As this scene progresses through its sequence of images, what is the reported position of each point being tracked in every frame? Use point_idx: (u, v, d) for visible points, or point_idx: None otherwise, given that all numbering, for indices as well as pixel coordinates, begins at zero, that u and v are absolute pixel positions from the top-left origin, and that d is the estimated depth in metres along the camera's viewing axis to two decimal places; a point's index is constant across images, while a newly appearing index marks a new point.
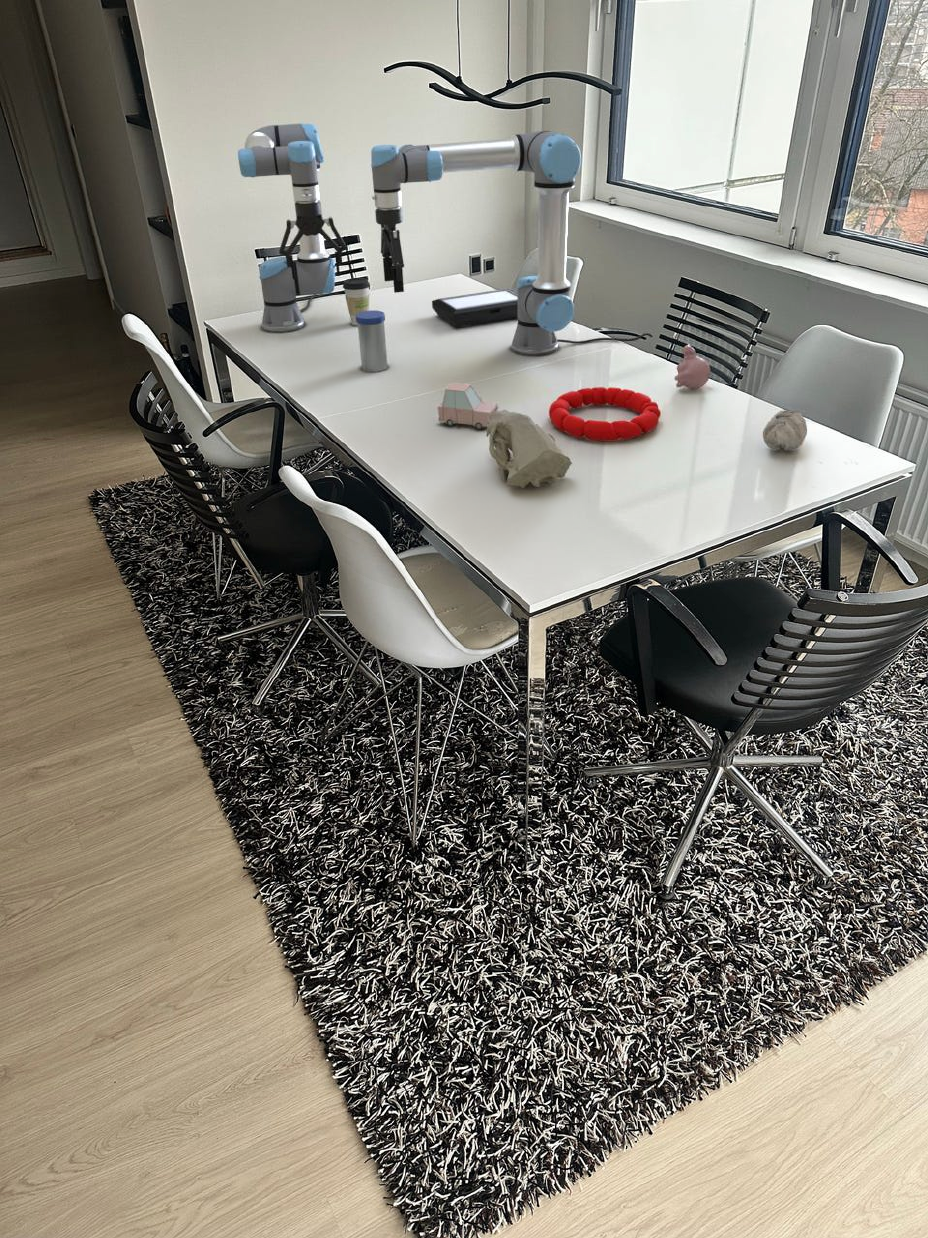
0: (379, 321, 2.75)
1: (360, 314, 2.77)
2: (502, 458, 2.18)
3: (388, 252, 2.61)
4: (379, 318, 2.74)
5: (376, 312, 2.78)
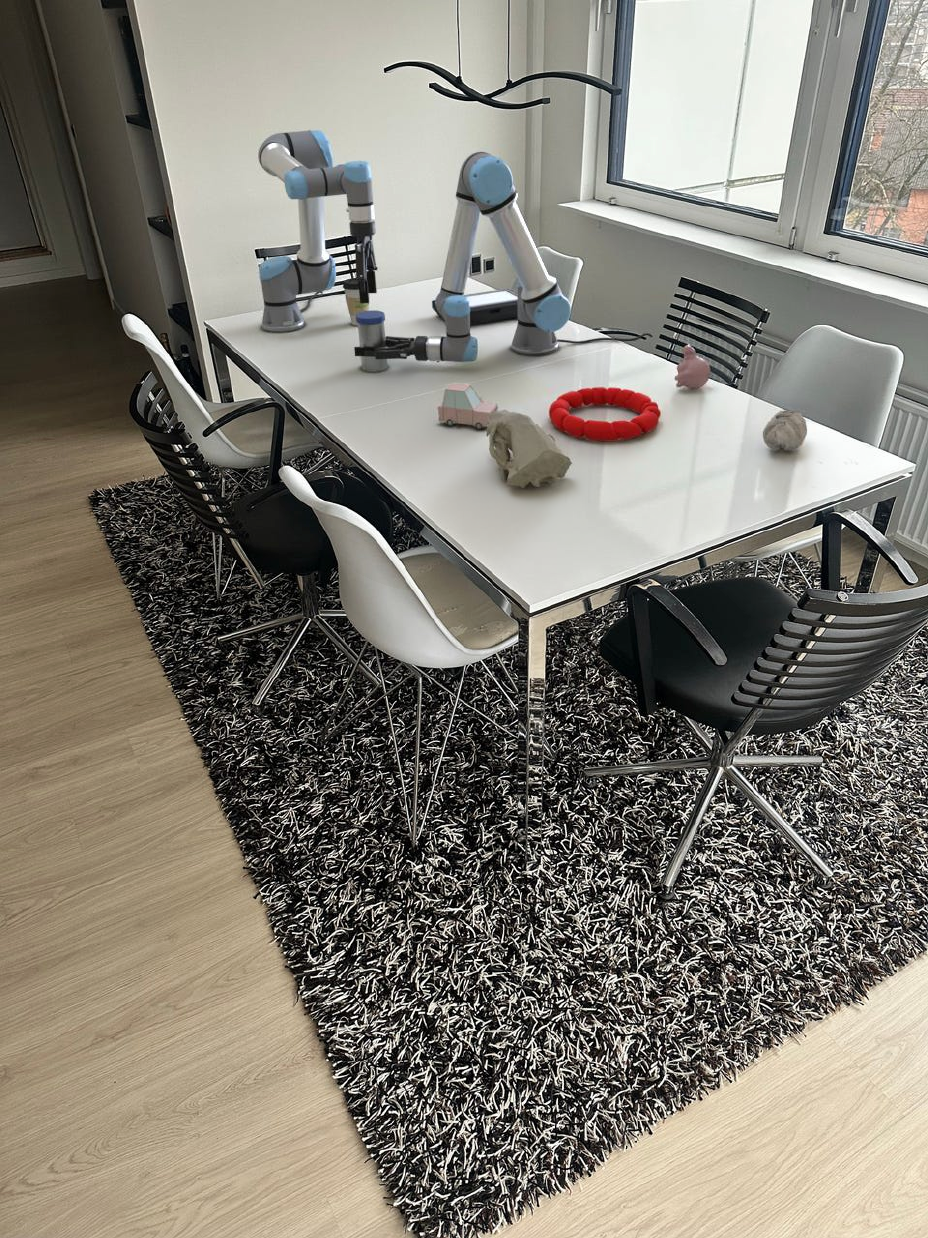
0: (379, 321, 2.75)
1: (360, 314, 2.77)
2: (502, 458, 2.18)
3: None
4: (379, 318, 2.74)
5: (376, 312, 2.78)
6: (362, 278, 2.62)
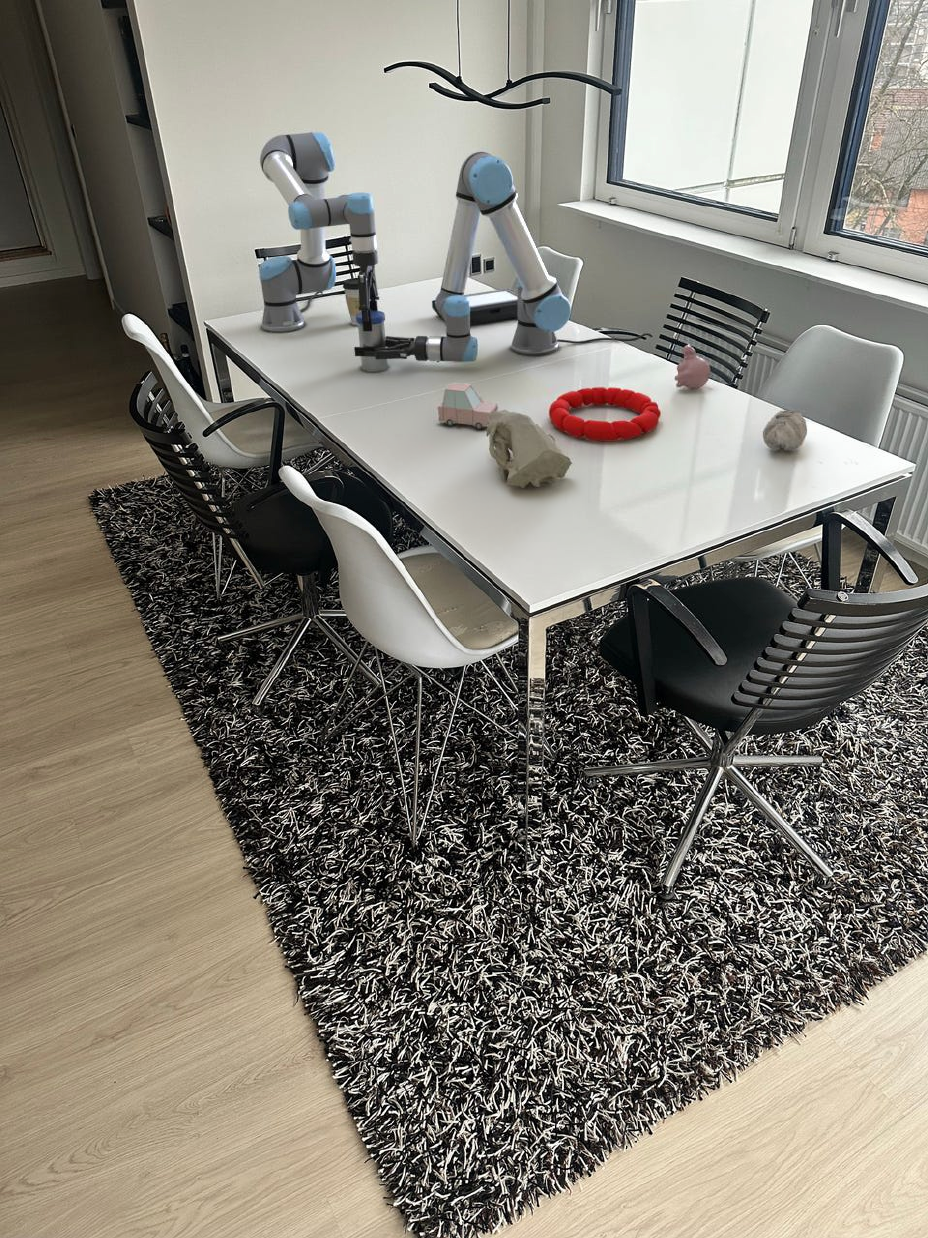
0: (379, 321, 2.75)
1: (360, 314, 2.77)
2: (502, 458, 2.18)
3: None
4: (379, 318, 2.74)
5: (376, 312, 2.78)
6: (365, 308, 2.68)
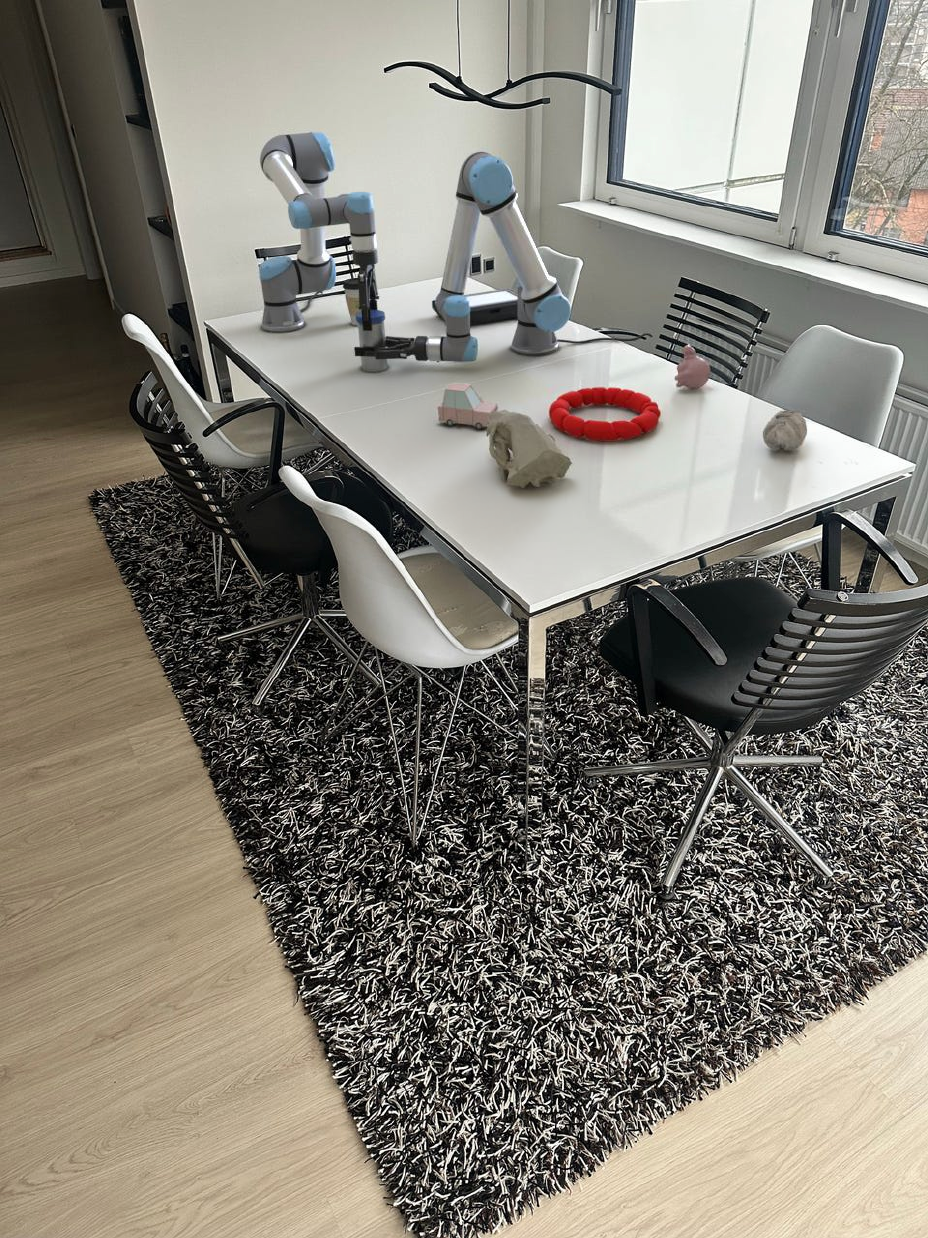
0: None
1: None
2: (502, 458, 2.18)
3: None
4: None
5: None
6: (365, 307, 2.68)
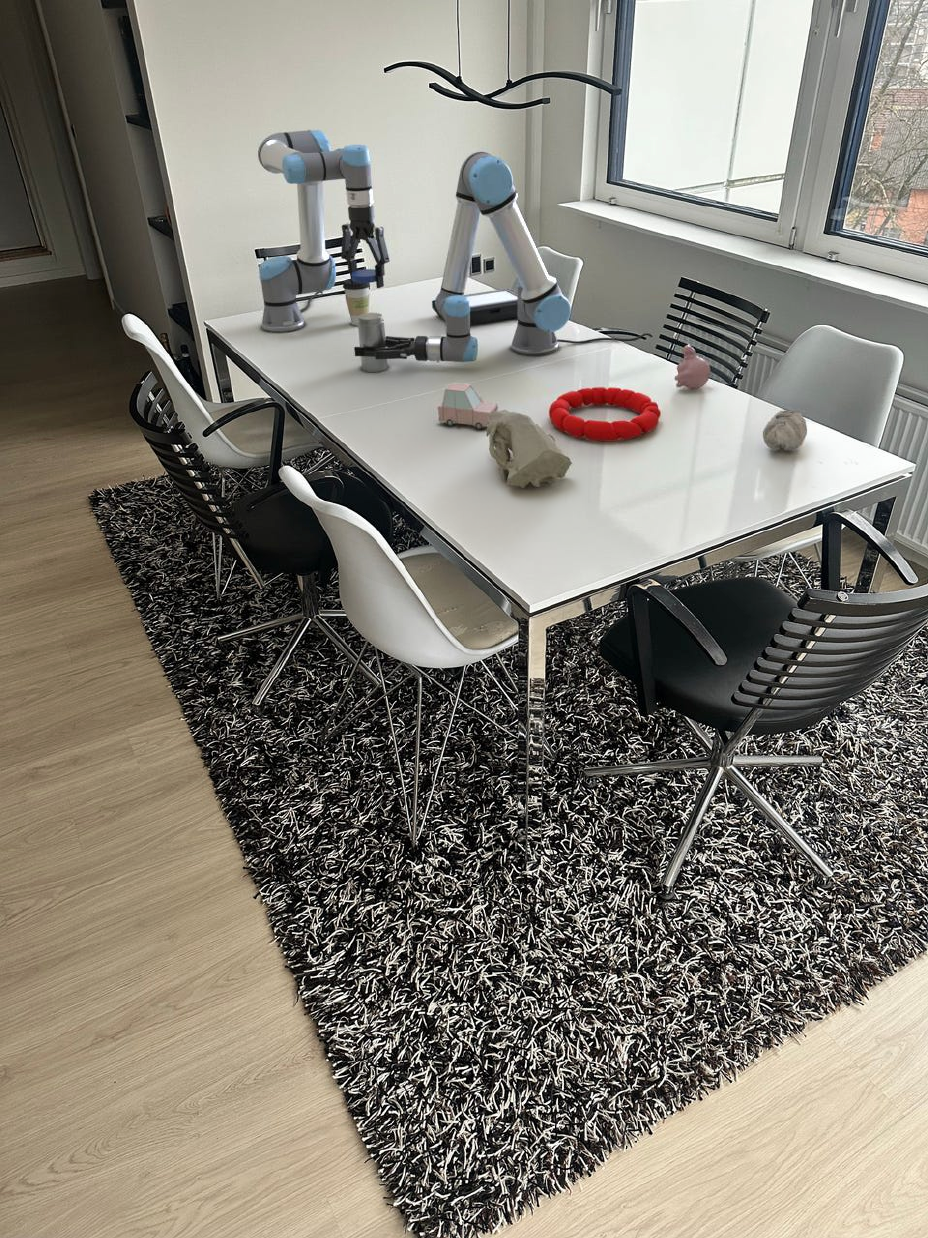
0: None
1: (371, 274, 2.68)
2: (502, 458, 2.18)
3: None
4: None
5: (357, 272, 2.70)
6: (388, 260, 2.64)
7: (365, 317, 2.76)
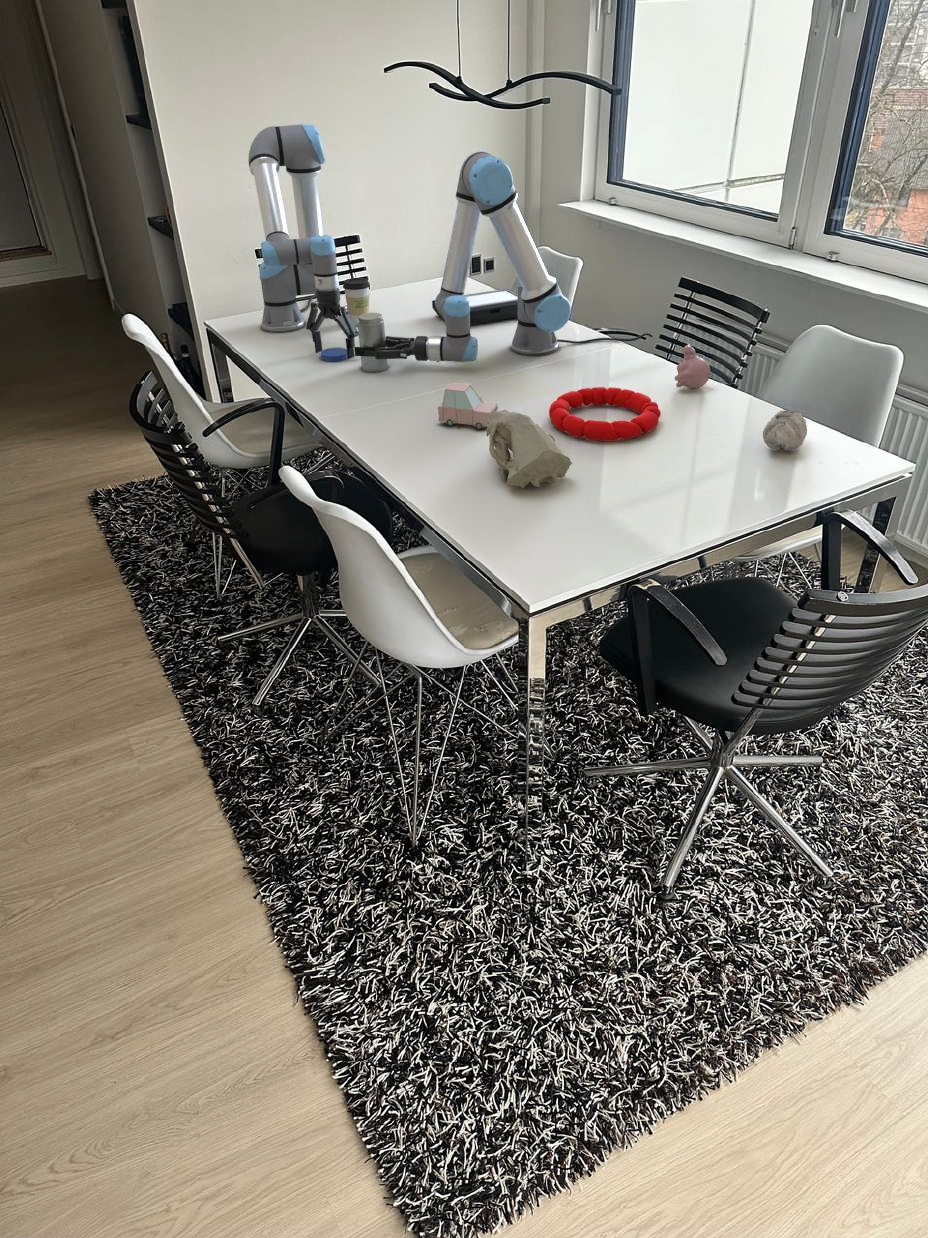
0: None
1: (338, 354, 2.93)
2: (502, 458, 2.18)
3: None
4: None
5: (326, 351, 2.95)
6: (358, 333, 2.87)
7: (365, 317, 2.76)
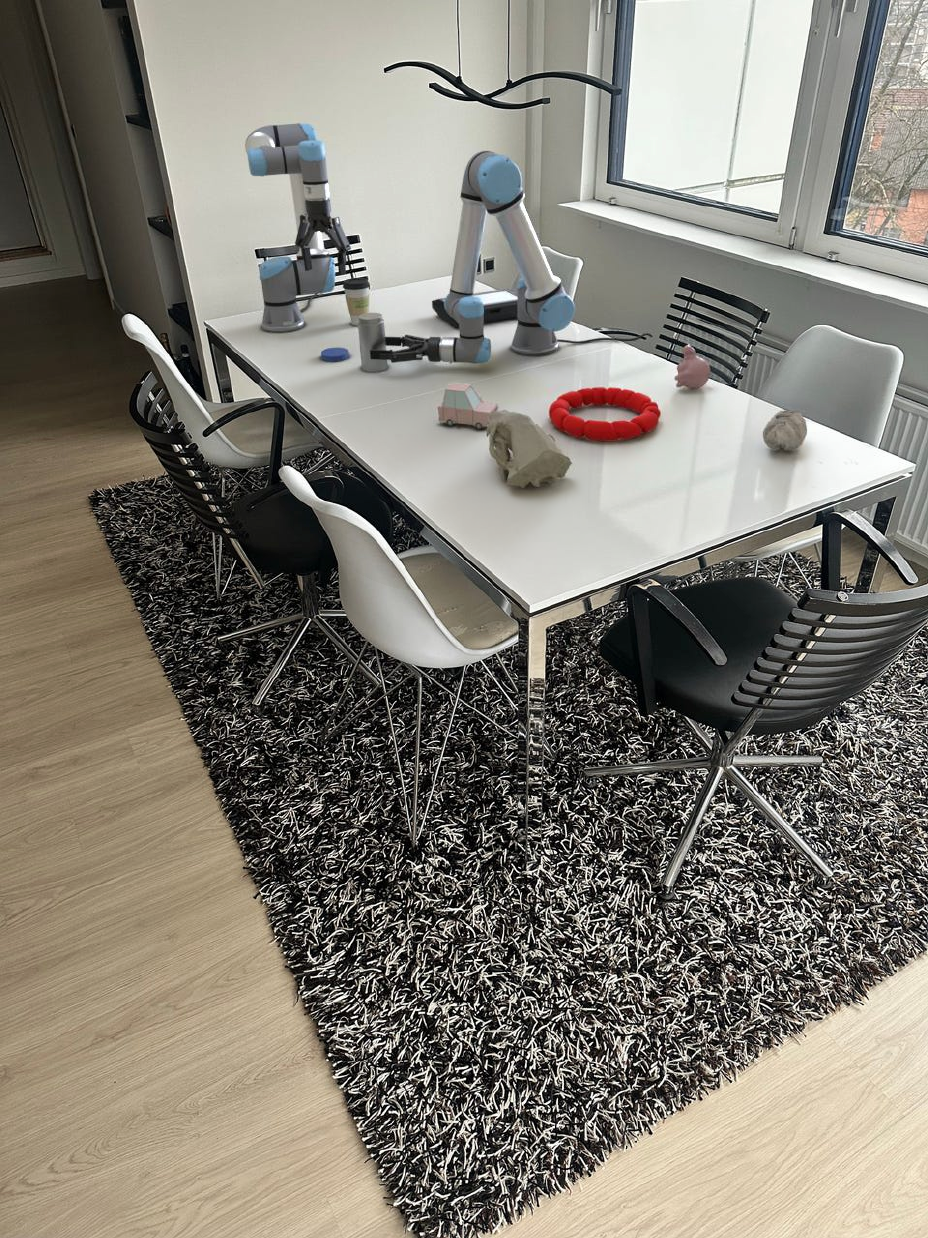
0: None
1: (338, 354, 2.93)
2: (502, 458, 2.18)
3: None
4: None
5: (326, 351, 2.95)
6: (349, 247, 2.72)
7: (365, 317, 2.76)
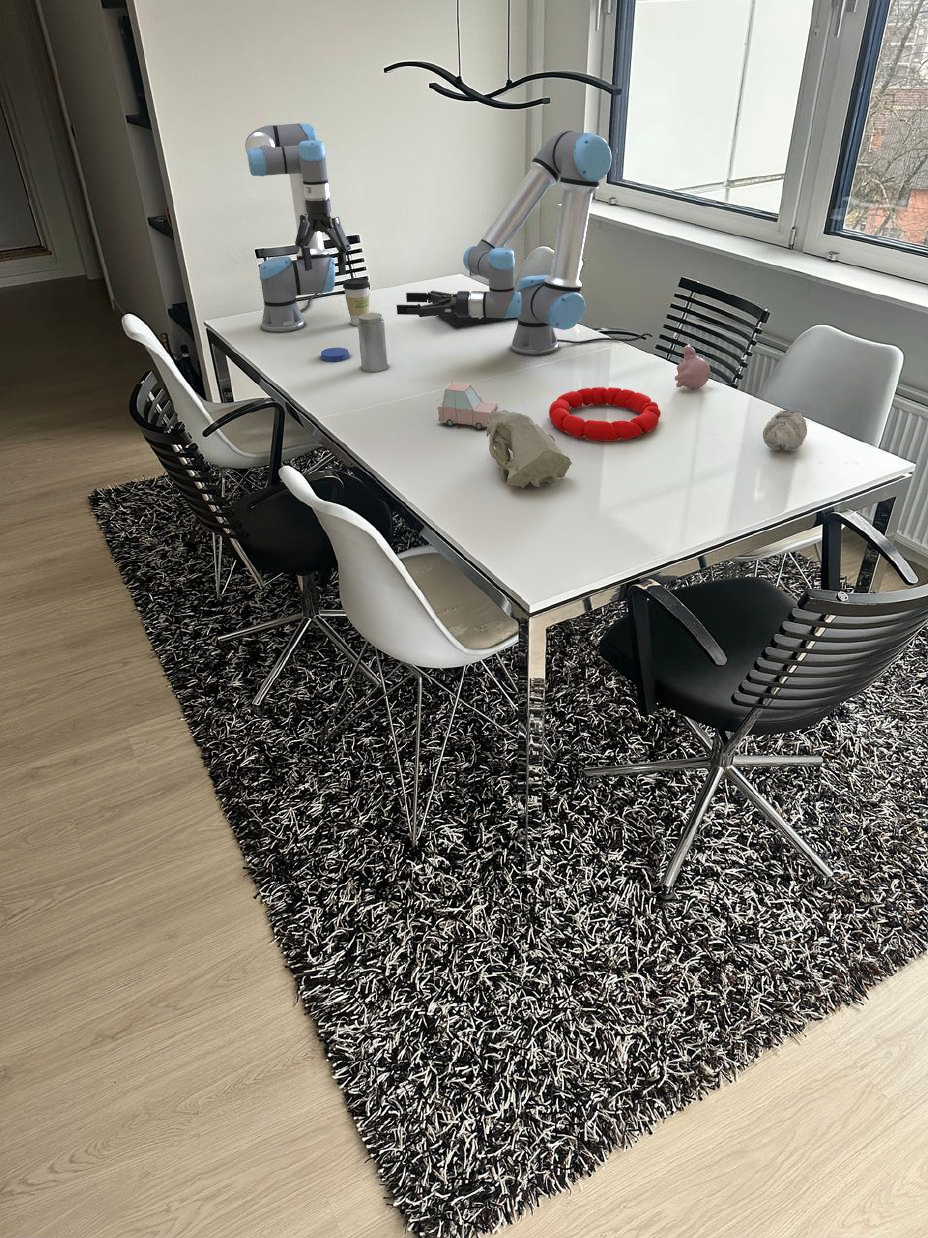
0: None
1: (338, 354, 2.93)
2: (502, 458, 2.18)
3: None
4: None
5: (326, 351, 2.95)
6: (349, 247, 2.72)
7: (365, 317, 2.76)
